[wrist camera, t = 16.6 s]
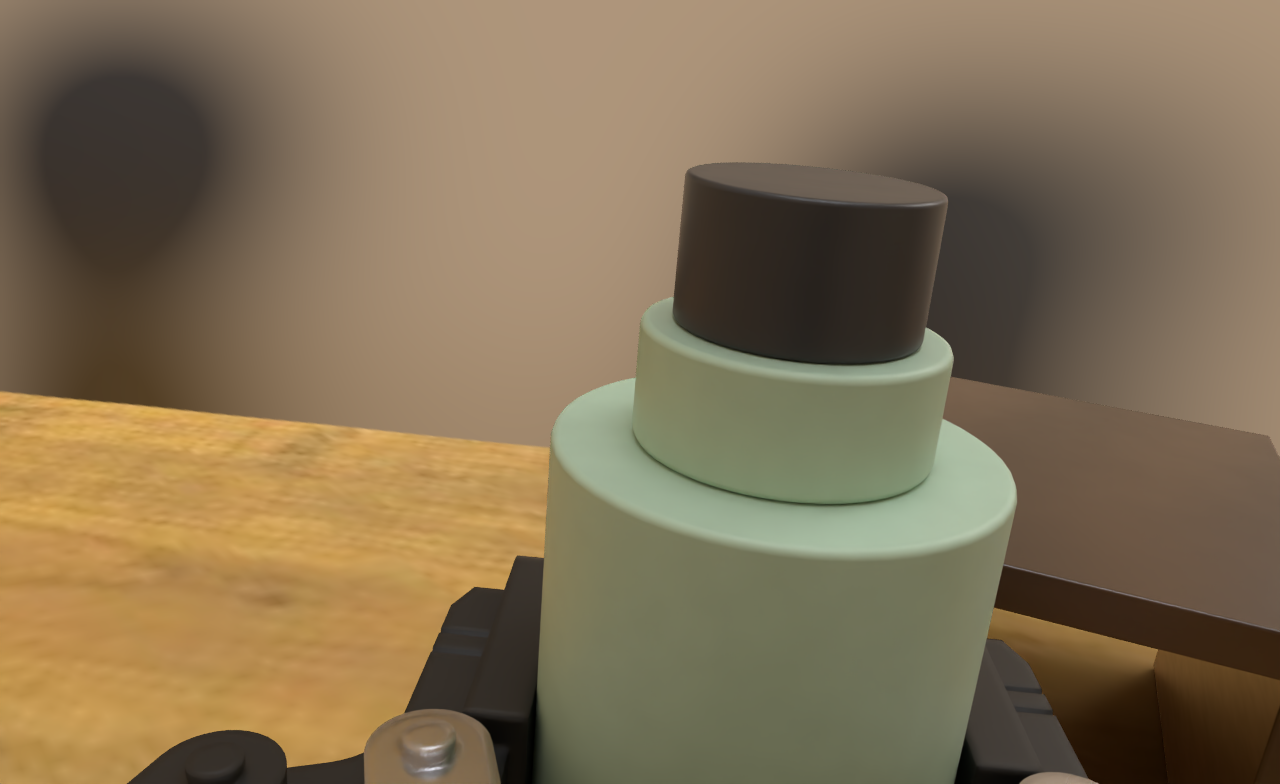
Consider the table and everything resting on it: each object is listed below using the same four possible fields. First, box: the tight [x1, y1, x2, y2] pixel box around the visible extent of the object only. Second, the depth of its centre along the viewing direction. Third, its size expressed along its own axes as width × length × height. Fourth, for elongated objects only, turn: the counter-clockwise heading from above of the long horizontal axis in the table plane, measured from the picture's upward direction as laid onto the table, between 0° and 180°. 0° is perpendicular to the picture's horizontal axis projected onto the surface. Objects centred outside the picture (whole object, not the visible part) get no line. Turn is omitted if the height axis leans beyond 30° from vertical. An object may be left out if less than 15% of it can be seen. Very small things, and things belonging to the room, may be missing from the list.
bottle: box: [532, 163, 1017, 784], centre depth 12 cm, size 5×5×13 cm
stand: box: [942, 377, 1280, 784], centre depth 27 cm, size 12×12×8 cm
